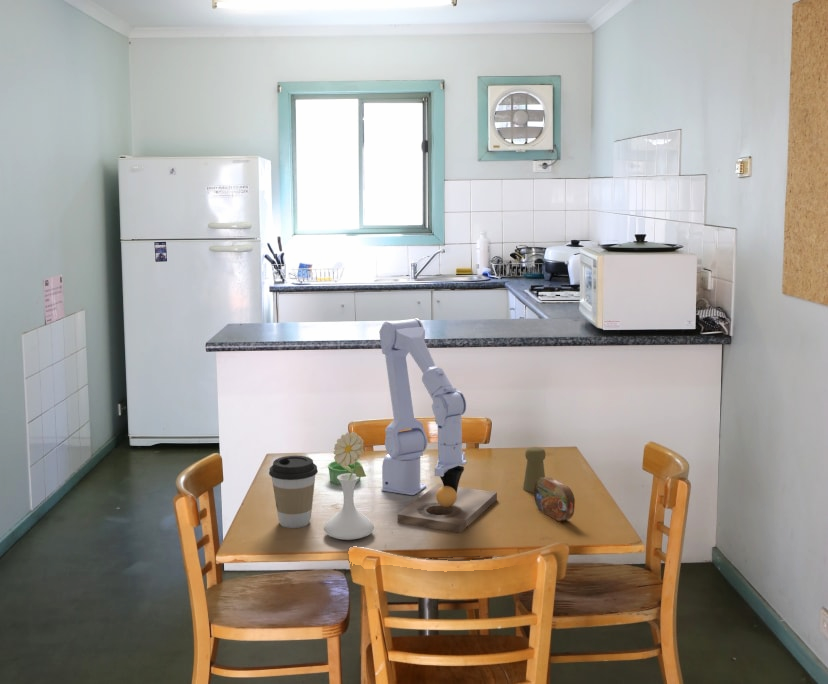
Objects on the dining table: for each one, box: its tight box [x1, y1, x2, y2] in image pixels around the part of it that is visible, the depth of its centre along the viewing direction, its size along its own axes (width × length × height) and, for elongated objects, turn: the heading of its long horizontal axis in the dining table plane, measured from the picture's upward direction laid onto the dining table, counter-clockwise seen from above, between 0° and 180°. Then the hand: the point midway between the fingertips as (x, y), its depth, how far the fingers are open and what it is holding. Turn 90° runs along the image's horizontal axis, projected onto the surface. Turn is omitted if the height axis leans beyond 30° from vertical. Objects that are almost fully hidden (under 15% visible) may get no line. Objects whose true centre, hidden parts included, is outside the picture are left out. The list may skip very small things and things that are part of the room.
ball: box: [436, 486, 457, 507], centre depth 238 cm, size 5×5×5 cm
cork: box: [522, 446, 546, 494], centre depth 256 cm, size 6×6×11 cm
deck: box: [397, 483, 498, 534], centre depth 241 cm, size 16×24×2 cm, turn 155°
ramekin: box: [327, 460, 363, 486], centre depth 264 cm, size 9×9×4 cm
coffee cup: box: [268, 455, 319, 529], centre depth 233 cm, size 11×11×15 cm
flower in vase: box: [323, 431, 375, 541], centre depth 223 cm, size 13×11×25 cm
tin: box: [533, 476, 576, 522], centre depth 238 cm, size 15×3×8 cm, turn 23°
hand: (451, 496), depth 240 cm, fingers closed, pressing on ball
